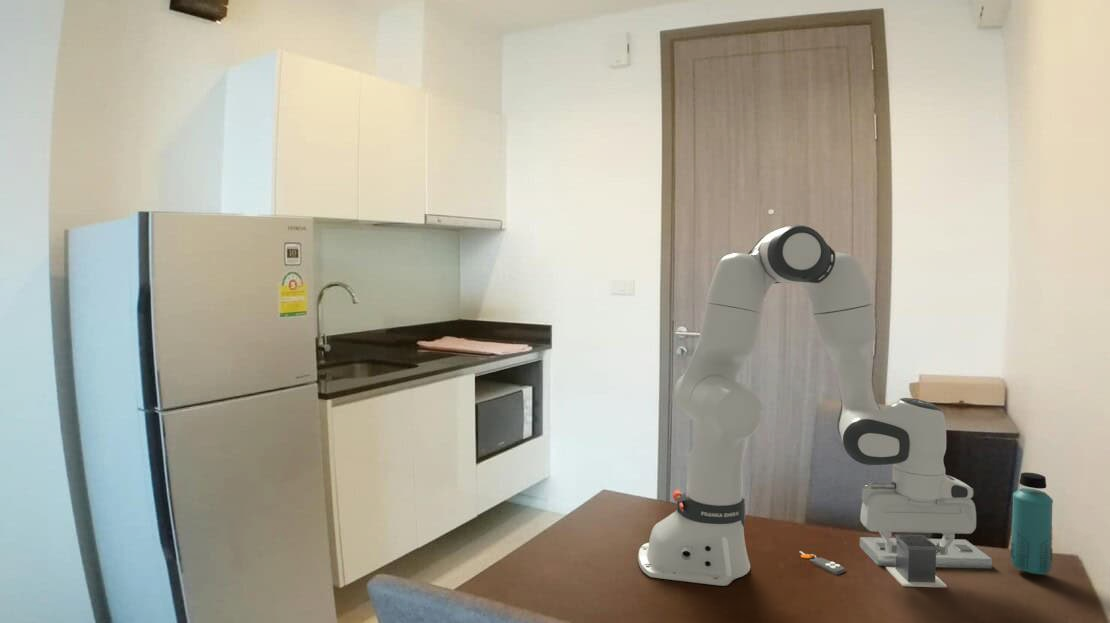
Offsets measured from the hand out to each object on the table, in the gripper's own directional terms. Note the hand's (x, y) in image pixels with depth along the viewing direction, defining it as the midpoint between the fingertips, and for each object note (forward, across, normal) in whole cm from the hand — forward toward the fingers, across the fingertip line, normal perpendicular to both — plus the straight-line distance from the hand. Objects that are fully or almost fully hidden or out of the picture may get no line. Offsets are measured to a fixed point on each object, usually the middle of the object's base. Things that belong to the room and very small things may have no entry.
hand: (915, 552), depth 121 cm
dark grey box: (+5, 0, 0) cm, 5 cm away
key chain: (+6, -17, +7) cm, 19 cm away
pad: (+5, 0, 0) cm, 5 cm away
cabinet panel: (+5, +6, +9) cm, 12 cm away
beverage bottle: (+5, +23, +3) cm, 24 cm away
